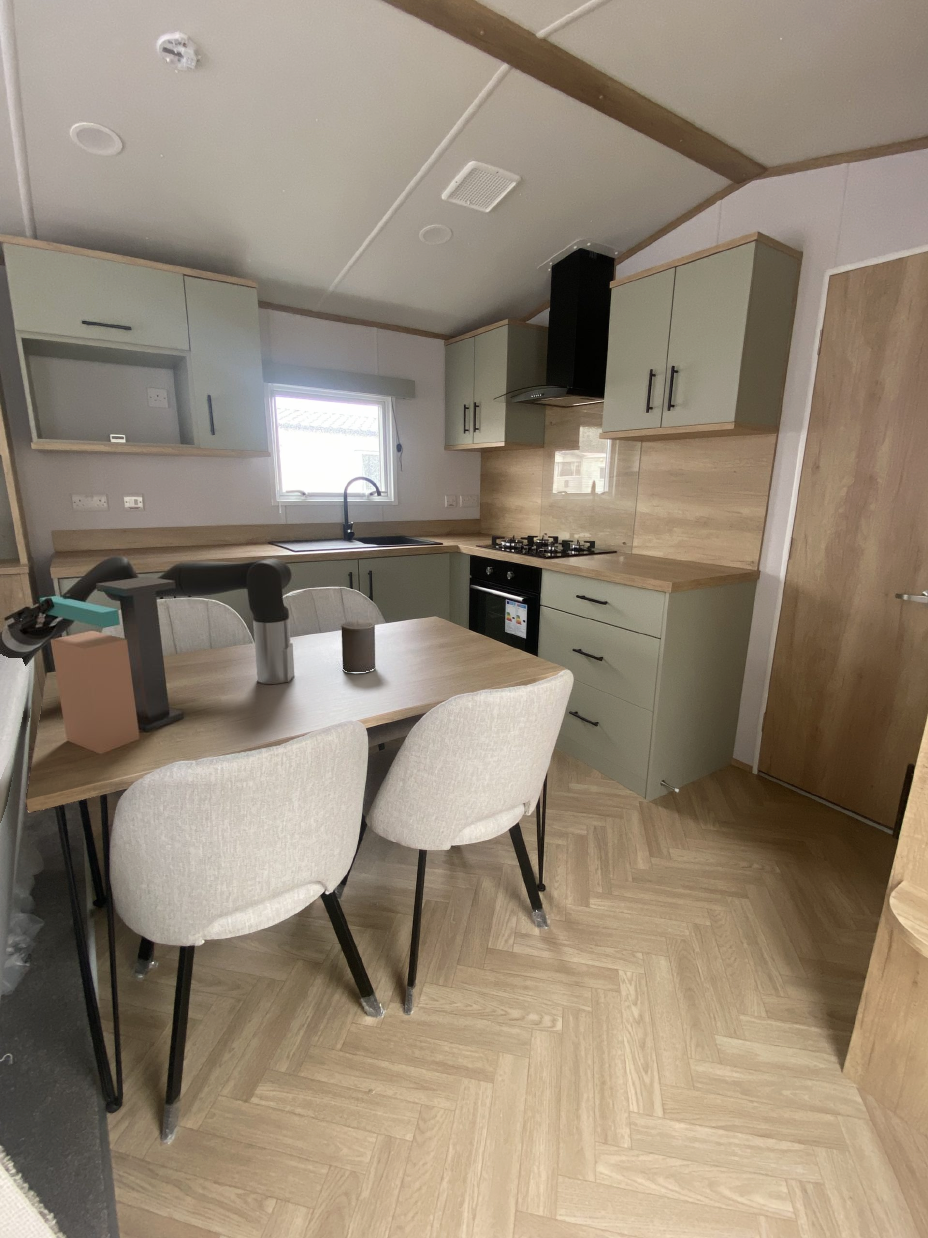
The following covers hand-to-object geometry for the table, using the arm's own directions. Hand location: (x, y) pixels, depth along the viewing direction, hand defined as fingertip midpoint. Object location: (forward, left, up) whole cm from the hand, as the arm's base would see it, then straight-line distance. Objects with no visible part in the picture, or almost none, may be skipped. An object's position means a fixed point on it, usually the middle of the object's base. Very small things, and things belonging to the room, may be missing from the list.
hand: (60, 600), depth 114 cm
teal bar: (-5, +3, -3) cm, 7 cm away
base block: (-7, +4, -29) cm, 30 cm away
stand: (-13, -6, -29) cm, 32 cm away
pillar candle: (-54, -43, -29) cm, 75 cm away
